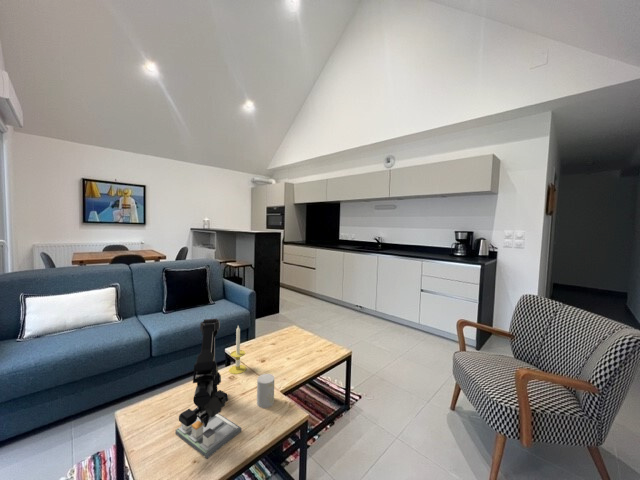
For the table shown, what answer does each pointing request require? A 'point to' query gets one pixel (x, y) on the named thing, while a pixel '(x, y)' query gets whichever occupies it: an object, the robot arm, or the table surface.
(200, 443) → the panel
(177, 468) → the table surface
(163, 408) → the table surface
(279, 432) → the table surface
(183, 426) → the toggle left
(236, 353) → the candle
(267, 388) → the grey cylinder
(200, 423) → the toggle mid
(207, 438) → the toggle right
